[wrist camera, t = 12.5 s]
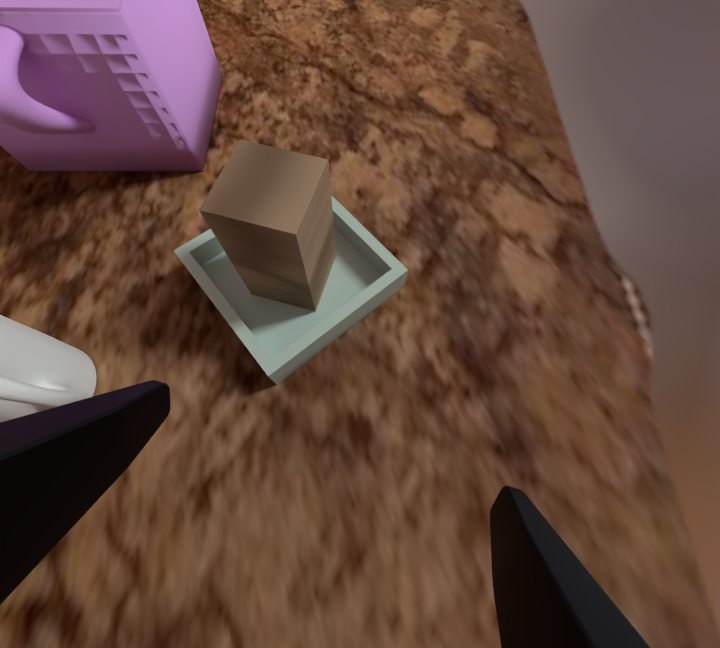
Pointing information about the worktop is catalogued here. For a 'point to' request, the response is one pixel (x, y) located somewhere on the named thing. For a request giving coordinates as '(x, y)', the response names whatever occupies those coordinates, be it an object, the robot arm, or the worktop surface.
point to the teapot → (107, 85)
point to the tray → (291, 323)
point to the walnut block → (275, 222)
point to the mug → (39, 371)
